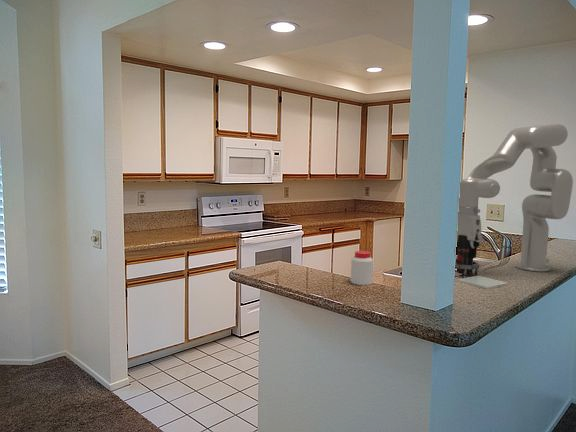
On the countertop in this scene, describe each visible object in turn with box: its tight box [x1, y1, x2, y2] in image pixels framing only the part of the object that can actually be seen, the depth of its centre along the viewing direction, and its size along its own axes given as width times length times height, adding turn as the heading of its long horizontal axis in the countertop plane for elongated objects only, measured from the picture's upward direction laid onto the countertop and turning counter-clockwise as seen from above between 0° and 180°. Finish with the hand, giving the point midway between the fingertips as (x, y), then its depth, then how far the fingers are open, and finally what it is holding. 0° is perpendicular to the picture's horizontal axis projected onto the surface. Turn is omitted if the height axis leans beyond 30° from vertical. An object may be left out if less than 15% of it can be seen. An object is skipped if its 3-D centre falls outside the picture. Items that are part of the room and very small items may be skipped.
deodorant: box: [456, 235, 474, 275], centre depth 174 cm, size 6×6×15 cm
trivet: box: [457, 275, 508, 290], centre depth 161 cm, size 12×12×1 cm
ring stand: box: [454, 258, 480, 279], centre depth 174 cm, size 11×11×5 cm
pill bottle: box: [350, 250, 374, 286], centre depth 159 cm, size 8×8×11 cm
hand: (465, 256), depth 174 cm, fingers closed on deodorant, 6 cm apart
